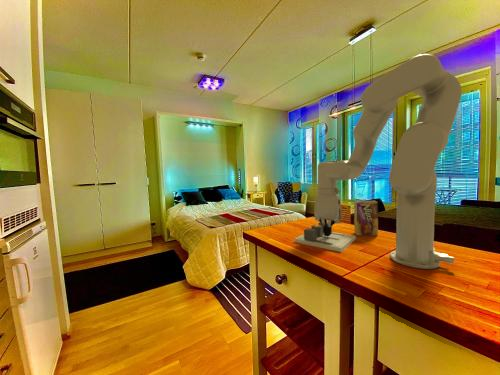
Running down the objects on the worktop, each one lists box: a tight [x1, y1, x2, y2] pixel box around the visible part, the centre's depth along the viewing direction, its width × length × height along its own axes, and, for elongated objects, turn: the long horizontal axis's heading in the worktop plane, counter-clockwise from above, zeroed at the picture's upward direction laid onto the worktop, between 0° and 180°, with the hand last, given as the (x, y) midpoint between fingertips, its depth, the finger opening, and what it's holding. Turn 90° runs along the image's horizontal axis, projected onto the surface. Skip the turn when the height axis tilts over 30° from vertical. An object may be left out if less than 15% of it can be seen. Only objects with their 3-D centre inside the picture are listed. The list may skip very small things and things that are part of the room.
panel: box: [294, 231, 357, 253], centre depth 91 cm, size 19×18×2 cm
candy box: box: [353, 200, 379, 236], centre depth 97 cm, size 9×4×15 cm, turn 79°
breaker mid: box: [310, 224, 323, 237], centre depth 93 cm, size 4×3×4 cm
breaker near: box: [303, 227, 317, 241], centre depth 88 cm, size 4×3×4 cm
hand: (327, 235), depth 90 cm, fingers closed
